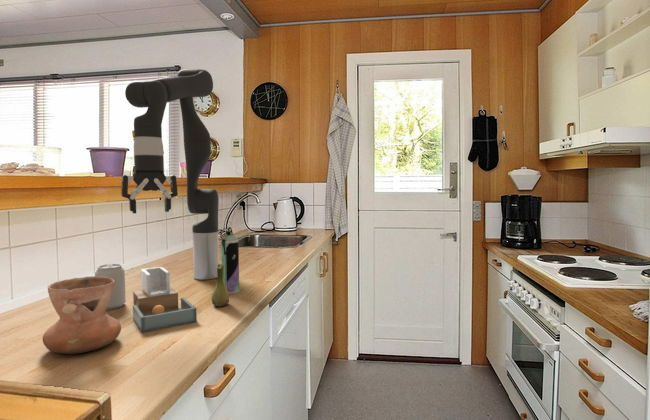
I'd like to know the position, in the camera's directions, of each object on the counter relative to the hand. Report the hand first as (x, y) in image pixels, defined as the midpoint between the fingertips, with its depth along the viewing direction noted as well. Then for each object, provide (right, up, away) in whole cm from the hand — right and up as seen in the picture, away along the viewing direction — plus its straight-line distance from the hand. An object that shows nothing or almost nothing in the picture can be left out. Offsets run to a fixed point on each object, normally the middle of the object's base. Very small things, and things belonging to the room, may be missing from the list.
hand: (150, 212), depth 112 cm
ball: (+6, -27, -7) cm, 28 cm away
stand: (+1, -27, 0) cm, 27 cm away
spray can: (+18, -26, +18) cm, 37 cm away
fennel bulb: (+19, -27, +4) cm, 33 cm away
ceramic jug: (-4, -29, -25) cm, 38 cm away
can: (-13, -27, +3) cm, 30 cm away
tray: (+7, -28, -9) cm, 30 cm away
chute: (+1, -22, 0) cm, 22 cm away
